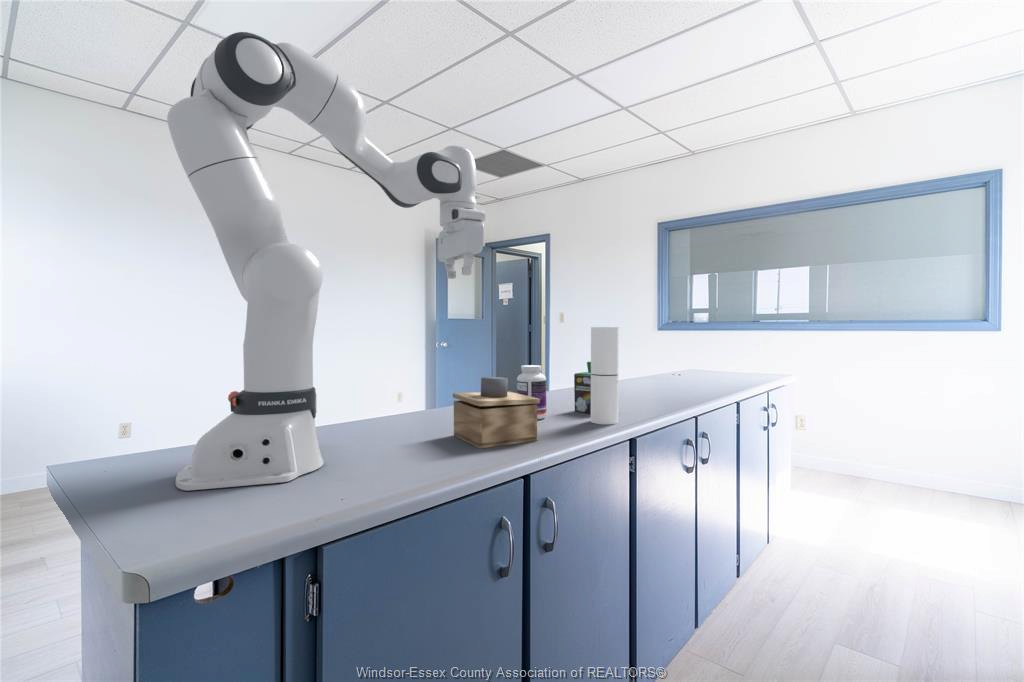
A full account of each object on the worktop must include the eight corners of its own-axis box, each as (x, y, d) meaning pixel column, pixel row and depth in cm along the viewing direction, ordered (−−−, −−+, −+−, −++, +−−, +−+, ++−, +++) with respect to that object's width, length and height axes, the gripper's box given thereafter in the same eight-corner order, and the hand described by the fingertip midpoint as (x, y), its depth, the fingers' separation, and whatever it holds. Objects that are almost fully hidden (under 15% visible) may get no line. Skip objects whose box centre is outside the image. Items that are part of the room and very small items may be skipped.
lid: (479, 406, 101) (479, 401, 101) (452, 397, 114) (452, 393, 114) (539, 403, 108) (539, 398, 108) (508, 395, 121) (508, 391, 121)
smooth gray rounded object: (487, 398, 107) (488, 379, 107) (476, 394, 112) (476, 377, 112) (511, 397, 110) (512, 379, 110) (499, 394, 115) (500, 376, 115)
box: (479, 448, 102) (479, 409, 101) (453, 435, 114) (453, 400, 114) (537, 440, 108) (537, 404, 108) (507, 429, 121) (507, 396, 120)
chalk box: (617, 411, 146) (617, 361, 145) (597, 415, 140) (598, 363, 139) (592, 407, 153) (592, 360, 152) (573, 411, 147) (573, 361, 146)
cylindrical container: (585, 421, 130) (585, 327, 130) (601, 418, 135) (602, 327, 134) (607, 425, 125) (607, 327, 124) (623, 421, 130) (624, 327, 129)
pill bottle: (547, 415, 139) (547, 364, 139) (545, 421, 131) (545, 367, 131) (519, 414, 140) (519, 364, 140) (515, 420, 132) (515, 366, 132)
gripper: (431, 225, 125) (431, 279, 125) (462, 208, 107) (463, 272, 107) (454, 227, 128) (454, 280, 128) (488, 211, 110) (489, 273, 111)
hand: (458, 276), depth 118 cm, fingers open, 8 cm apart
